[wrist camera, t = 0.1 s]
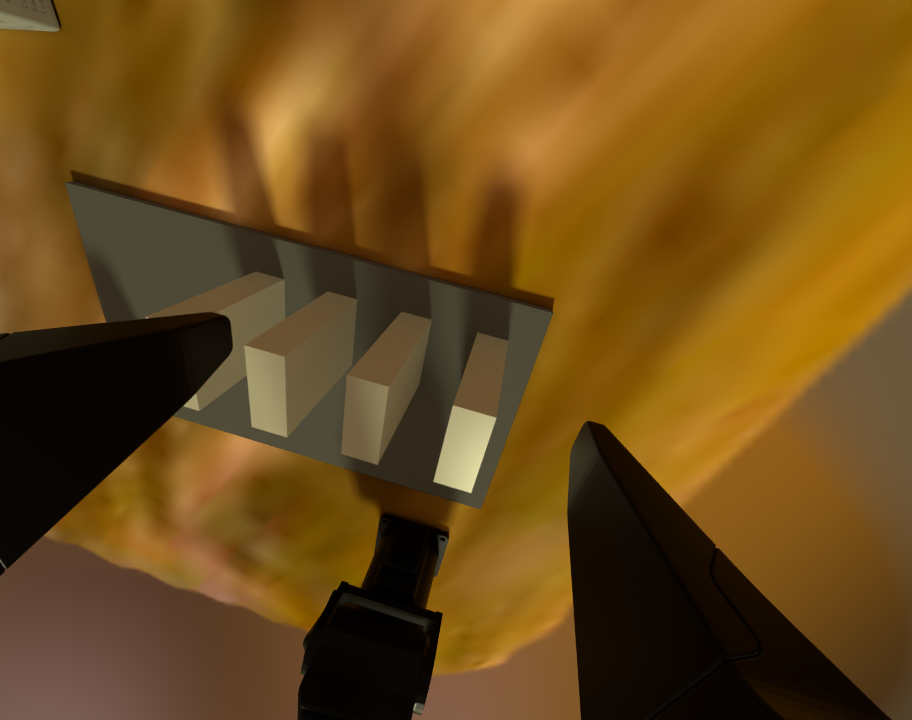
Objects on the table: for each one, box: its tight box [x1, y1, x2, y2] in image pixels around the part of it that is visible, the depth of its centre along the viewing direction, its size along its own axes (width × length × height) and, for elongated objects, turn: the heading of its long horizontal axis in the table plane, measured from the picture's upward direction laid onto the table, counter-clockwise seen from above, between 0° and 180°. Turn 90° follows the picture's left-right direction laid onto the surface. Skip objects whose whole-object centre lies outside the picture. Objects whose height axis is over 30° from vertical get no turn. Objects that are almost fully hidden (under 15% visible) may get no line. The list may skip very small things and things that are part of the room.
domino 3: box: [341, 312, 432, 465], centre depth 22 cm, size 5×2×8 cm, turn 168°
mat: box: [65, 182, 553, 509], centre depth 28 cm, size 18×32×1 cm, turn 78°
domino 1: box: [146, 272, 286, 411], centre depth 22 cm, size 5×2×8 cm, turn 168°
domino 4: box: [433, 333, 508, 493], centre depth 21 cm, size 5×2×8 cm, turn 168°
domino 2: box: [244, 291, 357, 437], centre depth 22 cm, size 5×2×8 cm, turn 168°
